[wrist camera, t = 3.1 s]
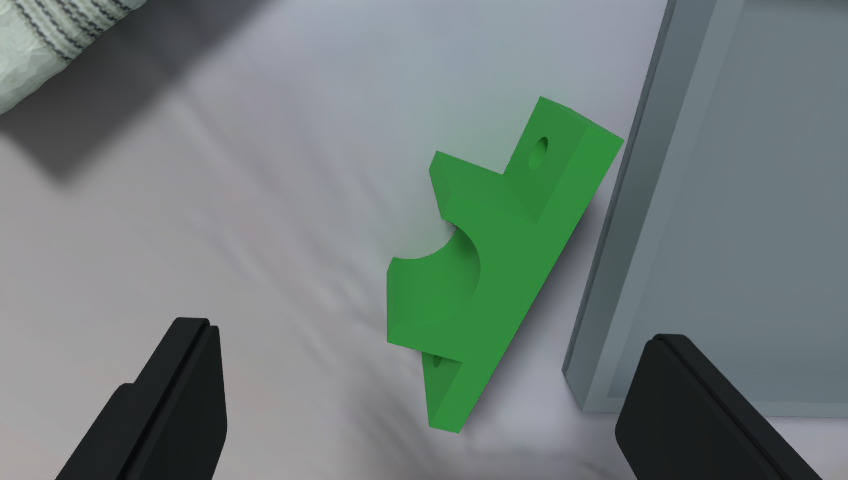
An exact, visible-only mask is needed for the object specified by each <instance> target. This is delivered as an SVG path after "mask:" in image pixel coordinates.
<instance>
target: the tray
mask: <svg viewBox="0 0 848 480" xmlns="http://www.w3.org/2000/svg"><path fill="white" fill-rule="evenodd" d="M659 333H660V334H682V335H685V336H686V337H688V338H689V339H690V340H691V341H692V342H693V343H694V344H695V346H696V347H697V348H698V349H699V350H700V351H701V352H702V353H703V354H704V355H705V356H706V357H707V358H708V359H709V360H710V361H711V362H712V363H713V365H714V366H715V367H716V368H717V369H718V370H719V371H720V372H721V373H722V374H723V375H724V376H725V377H726V378H727V379H728V380H729V381H730V383H731V384H732V385H733V386H734V387H735V388H736V389H737V390H738V391H739V392H740V393H741V394H742V395H743V396H744V397H745V398H746V399H747V400H748V402H749V403H750V404H751V405H752V406H753V407H754V408H755V409H756V410H757V411H758V412H759V413H760V414H761V415H762V416H789V417H836V418H848V0H668V4H667V7H666V10H665V14H664V17H663V21H662V24H661V28H660V31H659V35H658V38H657V42H656V45H655V49H654V52H653V55H652V59H651V62H650V66H649V69H648V73H647V76H646V80H645V83H644V87H643V90H642V94H641V97H640V101H639V104H638V107H637V111H636V114H635V118H634V121H633V125H632V128H631V132H630V135H629V139H628V142H627V146H626V149H625V153H624V156H623V159H622V163H621V166H620V170H619V173H618V177H617V180H616V184H615V187H614V191H613V194H612V198H611V201H610V205H609V208H608V211H607V215H606V218H605V222H604V225H603V229H602V232H601V236H600V239H599V243H598V246H597V250H596V253H595V257H594V260H593V263H592V267H591V270H590V274H589V277H588V281H587V284H586V288H585V291H584V295H583V298H582V302H581V305H580V308H579V312H578V315H577V319H576V322H575V326H574V329H573V333H572V336H571V340H570V343H569V347H568V350H567V354H566V357H565V360H564V364H563V367H562V372H563V374H564V376H565V378H566V380H567V382H568V384H569V386H570V388H571V390H572V392H573V394H574V396H575V398H576V400H577V403H578V405H579V407H580V409H581V411H582V412H600V413H621V410H622V407H623V405H624V402H625V399H626V396H627V394H628V391H629V388H630V385H631V382H632V380H633V377H634V374H635V371H636V369H637V366H638V363H639V360H640V357H641V355H642V352H643V349H644V346H645V344H646V342H647V341H648V340H652V338H653V337H654V336H655V335H656V334H659Z"/></svg>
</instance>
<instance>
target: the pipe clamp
mask: <svg viewBox="0 0 848 480" xmlns="http://www.w3.org/2000/svg"><path fill="white" fill-rule="evenodd" d="M623 142H624V140H623V139H621V138H620V137H618V136H616V135H614V134H613V133H611V132H609V131H608V130H606V129H604V128H602V127H601V126H599V125H597V124H596V123H594V122H592V121H590V120H589V119H587V118H585V117H584V116H582V115H580V114H578V113H577V112H575V111H573V110H572V109H570V108H568V107H566V106H563V105H561V104H558V103H556V102H554V101H551V100H549V99H546V98H544V97H542V96H540V98H539V100H538V102H537V104H536V106H535V109H534V111H533V113H532V115H531V117H530V119H529V121H528V123H527V125H526V127H525V130H524V132H523V134H522V136H521V138H520V140H519V142H518V144H517V146H516V149H515V151H514V153H513V155H512V157H511V159H510V161H509V163H508V165H507V167H506V170H505V172H504V174H503V175H501V174H499V173H496V172H493V171H491V170H488V169H485V168H482V167H480V166H477V165H474V164H472V163H469V162H466V161H463V160H461V159H458V158H455V157H452V156H450V155H447V154H444V153H442V152H439V151H436V153H435V156H434V158H433V161H432V163H431V166H430V168H429V173H430V177H431V180H432V184H433V188H434V192H435V196H436V199H437V203H438V207H439V211H440V215H441V218H442V219H444V220H446V221H449V222H451V223H453V224H454V225H456V226H457V229H456V231H455V233H454V235H453V237H452V238H451V239H450V241H449V242H448V243H447V244H446V245H445V246H444V247H443V248H441V249H440V250H439V251H437V252H435V253H433V254H431V255H429V256H426V257H423V258H419V259H399V258H395V257H393V258H392V261H391V263H390V266H389V268H388V271H387V342H388V343H392V344H396V345H400V346H403V347H407V348H411V349H415V350H418V351H421V354H422V363H423V373H424V382H425V392H426V401H427V411H428V420H429V427H432V428H437V429H441V430H445V431H450V432H454V433H458V434H459V432H460V430H461V428H462V426H463V425H464V423H465V421H466V419H467V418H468V416H469V414H470V412H471V411H472V409H473V407H474V405H475V404H476V402H477V400H478V398H479V396H480V395H481V393H482V391H483V389H484V388H485V386H486V384H487V382H488V381H489V379H490V377H491V375H492V374H493V372H494V370H495V368H496V366H497V365H498V363H499V361H500V359H501V358H502V356H503V354H504V352H505V351H506V349H507V347H508V345H509V343H510V342H511V340H512V338H513V336H514V335H515V333H516V331H517V329H518V328H519V326H520V324H521V322H522V321H523V319H524V317H525V315H526V313H527V312H528V310H529V308H530V306H531V305H532V303H533V301H534V299H535V298H536V296H537V294H538V292H539V290H540V289H541V287H542V285H543V283H544V282H545V280H546V278H547V276H548V275H549V273H550V271H551V269H552V268H553V266H554V264H555V262H556V260H557V259H558V257H559V255H560V253H561V252H562V250H563V248H564V246H565V245H566V243H567V241H568V239H569V238H570V236H571V234H572V232H573V230H574V229H575V227H576V225H577V223H578V222H579V220H580V218H581V216H582V215H583V213H584V211H585V209H586V207H587V206H588V204H589V202H590V200H591V199H592V197H593V195H594V193H595V192H596V190H597V188H598V186H599V185H600V183H601V181H602V179H603V177H604V176H605V174H606V172H607V170H608V169H609V167H610V165H611V163H612V162H613V160H614V158H615V156H616V155H617V153H618V151H619V149H620V147H621V146H622V144H623Z"/></svg>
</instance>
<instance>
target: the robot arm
mask: <svg viewBox="0 0 848 480" xmlns="http://www.w3.org/2000/svg"><path fill="white" fill-rule="evenodd" d="M226 434H227V415H226V403H225V392H224V381H223V369H222V358H221V347H220V335H219V328H218V326H210V322H209V320H208V319H207V318H185V317H178V318H176V319H175V320H174V321H173V323H172V325H171V326H170V328H169V329H168V331H167V332H166V334H165V335H164V337H163V339H162V340H161V342H160V343H159V345H158V346H157V348H156V349H155V351H154V353H153V354H152V356H151V357H150V359H149V360H148V362H147V363H146V365H145V367H144V368H143V370H142V371H141V373H140V374H139V376H138V378H137V379H136V381H135V382H134V383H124V384H122V385H121V386H119V387H118V388H117V390H116V391H115V392H114V393H113V395H112V396H111V398H110V399H109V401H108V402H107V404H106V405H105V407H104V408H103V410H102V411H101V412H100V414H99V415H98V417H97V418H96V420H95V421H94V423H93V424H92V426H91V427H90V429H89V430H88V432H87V433H86V435H85V436H84V438H83V439H82V440H81V442H80V443H79V445H78V446H77V448H76V449H75V451H74V452H73V454H72V455H71V457H70V458H69V460H68V461H67V463H66V464H65V466H64V467H63V468H62V470H61V471H60V473H59V474H58V476H57V477H56V479H55V480H212V477H213V474H214V472H215V469H216V466H217V463H218V460H219V457H220V454H221V451H222V448H223V446H224V442H225V439H226ZM615 436H616V440H617V443H618V445H619V447H620V449H621V450H622V452H623V454H624V456H625V458H626V460H627V461H628V463H629V465H630V467H631V469H632V470H633V472H634V474H635V476H636V478H637V479H638V480H822V479H821V478H820V477H819V475H818V474H817V473H816V472H815V471H814V470H813V469H812V468H811V467H810V466H809V465H808V464H807V463H806V462H805V461H804V460H803V459H802V458H801V456H800V455H799V454H798V453H797V452H796V451H795V450H794V449H793V448H792V447H791V446H790V445H789V444H788V443H787V442H786V441H785V440H784V439H783V437H782V436H781V435H780V434H779V433H778V432H777V431H776V430H775V429H774V428H773V427H772V426H771V425H770V424H769V423H768V422H767V421H766V419H765V418H764V417H763V416H762V415H761V414H760V413H759V412H758V411H757V410H756V409H755V408H754V407H753V406H752V405H751V404H750V403H749V402H748V400H747V399H746V398H745V397H744V396H743V395H742V394H741V393H740V392H739V391H738V390H737V389H736V388H735V387H734V386H733V385H732V384H731V383H730V381H729V380H728V379H727V378H726V377H725V376H724V375H723V374H722V373H721V372H720V371H719V370H718V369H717V368H716V367H715V366H714V365H713V363H712V362H711V361H710V360H709V359H708V358H707V357H706V356H705V355H704V354H703V353H702V352H701V351H700V350H699V349H698V348H697V347H696V346H695V344H694V343H693V342H692V341H691V340H690V339H689V338H688V337H686V336H685V335H682V334H660V333H659V334H656V335H655V336H654V337H653V338H652V340H648V341H647V342H646V344H645V346H644V349H643V352H642V355H641V357H640V360H639V363H638V366H637V369H636V371H635V374H634V377H633V380H632V382H631V385H630V388H629V391H628V394H627V396H626V399H625V402H624V405H623V407H622V410H621V413H620V416H619V418H618V421H617V424H616V428H615Z"/></svg>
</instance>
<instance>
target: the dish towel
mask: <svg viewBox="0 0 848 480" xmlns="http://www.w3.org/2000/svg"><path fill="white" fill-rule="evenodd" d="M146 1H147V0H0V115H1V114H3V113H5V112H7V111H9V110H10V109H12V108H13V107H14V106H15V105H16V104H17V103H19V102H20V101H21V100H23V99H24V98H25V97H27V96H28V95H30V94H31V93H33V92H34V91H36V90H37V89H38V88H39V87H40V86H41V85H42V84H43V83H44V82H45V81H47V80H48V79H50V78H51V77H53V76H54V75H56V74H57V73H59V72H61V71H62V70H64V69H65V68H66V67H67V66H68V65H69V64H70V63H71V62H72V61H73V60H74V59H75V58H76V57H77V56H78V55H79V54H80V53H82V52H83V51H84V50H85V49H86V48H87V47H88V46H89V45H90V44H91V43H93V42H94V41H95V40H96V39H97V38H98V37H99V36H100V35H102V34H103V33H104V32H105V31H107V30H108V29H109V28H111V27H112V26H113V25H114V24H116V23H117V22H118V21H120V20H121V19H122V18H124V17H125V16H126V15H128V14H129V13H130V12H132V11H134V10H136V9H138V8H139V7H141V6H142V5H144V4H145V3H146Z"/></svg>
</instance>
